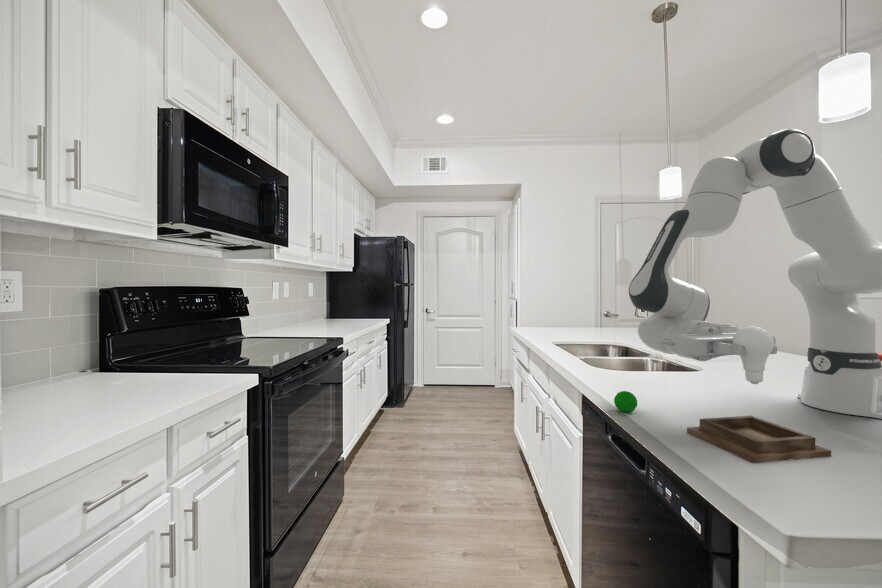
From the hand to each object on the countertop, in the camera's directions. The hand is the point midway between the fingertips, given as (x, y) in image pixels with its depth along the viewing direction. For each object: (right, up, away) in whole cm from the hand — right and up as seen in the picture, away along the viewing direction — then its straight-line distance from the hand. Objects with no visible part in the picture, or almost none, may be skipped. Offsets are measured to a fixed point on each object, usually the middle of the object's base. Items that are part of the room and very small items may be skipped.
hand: (758, 350), depth 72 cm
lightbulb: (0, -7, +1) cm, 7 cm away
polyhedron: (-15, -18, +20) cm, 31 cm away
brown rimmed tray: (0, -18, +1) cm, 18 cm away
